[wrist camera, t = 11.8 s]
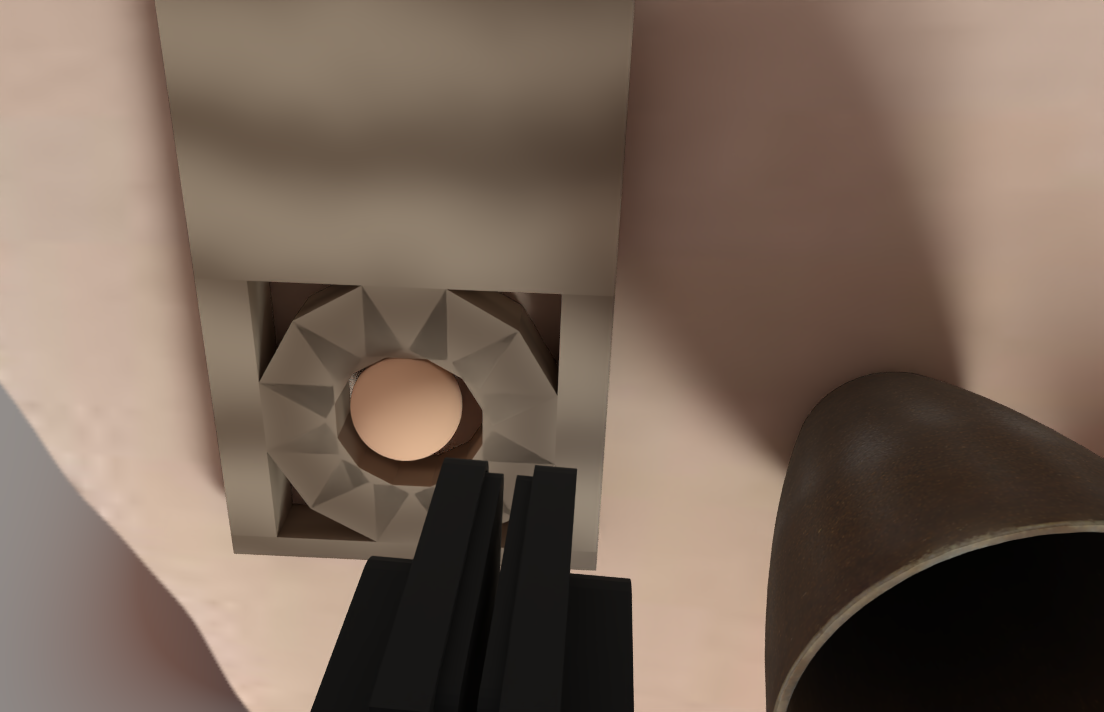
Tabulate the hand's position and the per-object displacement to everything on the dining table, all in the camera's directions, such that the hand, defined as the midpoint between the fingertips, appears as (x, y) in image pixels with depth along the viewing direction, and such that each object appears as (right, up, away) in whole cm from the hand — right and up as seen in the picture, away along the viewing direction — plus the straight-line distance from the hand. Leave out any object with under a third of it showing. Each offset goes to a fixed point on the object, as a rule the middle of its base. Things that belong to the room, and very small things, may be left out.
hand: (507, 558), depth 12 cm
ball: (-5, +1, +26) cm, 27 cm away
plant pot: (+15, -1, +29) cm, 33 cm away
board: (-5, +6, +26) cm, 27 cm away
